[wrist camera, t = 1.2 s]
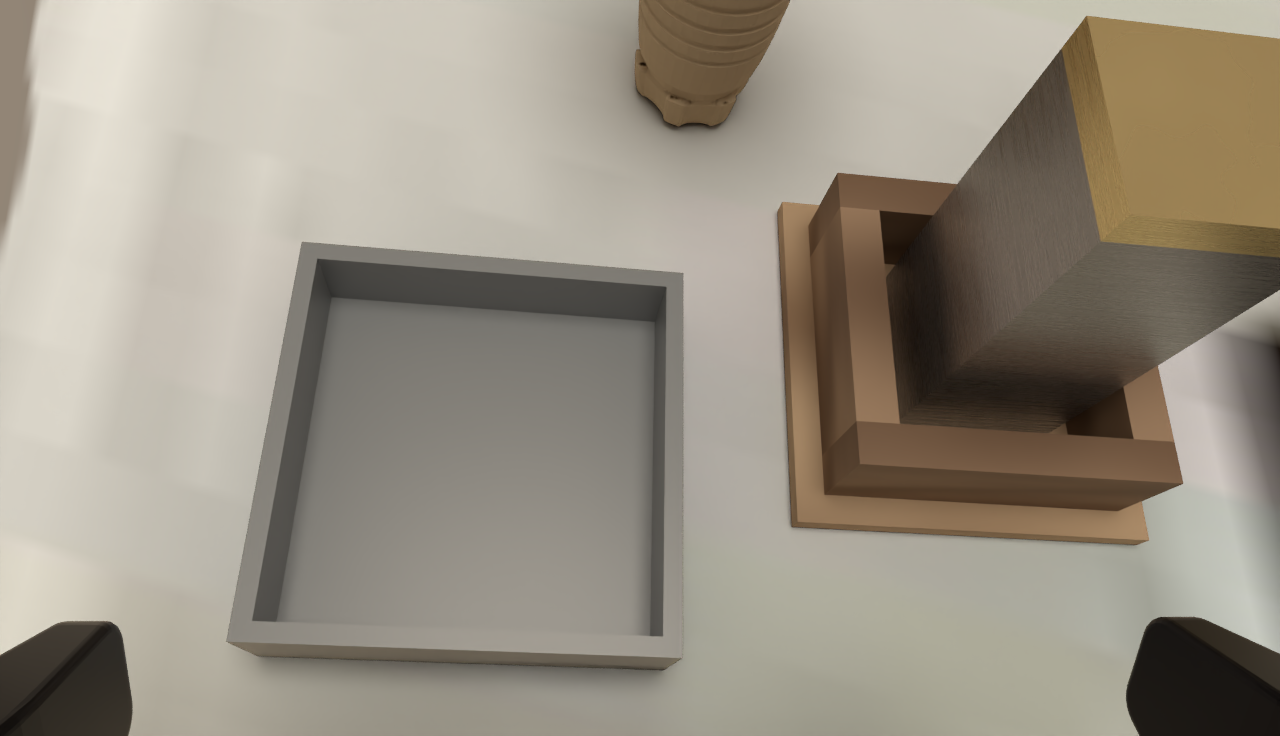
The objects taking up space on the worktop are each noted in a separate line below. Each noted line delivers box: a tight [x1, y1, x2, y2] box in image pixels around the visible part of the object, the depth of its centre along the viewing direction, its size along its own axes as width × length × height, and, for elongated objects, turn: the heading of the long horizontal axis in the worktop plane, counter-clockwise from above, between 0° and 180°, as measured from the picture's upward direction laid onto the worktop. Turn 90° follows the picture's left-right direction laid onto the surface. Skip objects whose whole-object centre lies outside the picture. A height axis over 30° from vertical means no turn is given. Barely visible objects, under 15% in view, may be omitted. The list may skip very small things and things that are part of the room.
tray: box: [226, 242, 683, 670], centre depth 21 cm, size 9×9×2 cm
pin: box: [886, 16, 1280, 433], centre depth 20 cm, size 4×4×10 cm
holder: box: [778, 173, 1183, 545], centre depth 24 cm, size 9×9×3 cm
